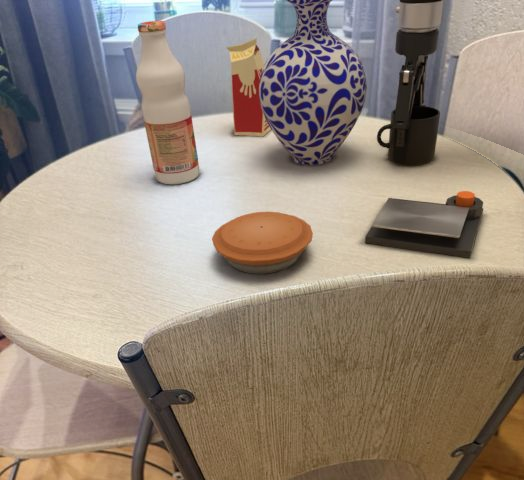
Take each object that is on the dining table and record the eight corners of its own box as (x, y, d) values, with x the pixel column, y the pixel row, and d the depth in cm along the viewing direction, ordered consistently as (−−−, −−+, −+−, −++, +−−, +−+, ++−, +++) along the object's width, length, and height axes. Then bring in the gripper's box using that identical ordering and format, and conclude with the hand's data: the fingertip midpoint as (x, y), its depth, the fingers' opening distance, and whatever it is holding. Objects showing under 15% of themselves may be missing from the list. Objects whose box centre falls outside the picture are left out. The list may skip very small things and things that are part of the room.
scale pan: (468, 209, 85) (469, 207, 85) (459, 238, 78) (459, 236, 78) (388, 200, 90) (388, 198, 89) (372, 226, 83) (372, 225, 83)
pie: (204, 281, 80) (200, 251, 76) (226, 232, 91) (222, 204, 88) (307, 283, 77) (307, 253, 74) (316, 233, 89) (316, 204, 86)
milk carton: (274, 124, 135) (270, 33, 122) (265, 136, 128) (259, 42, 115) (240, 123, 137) (232, 34, 124) (229, 135, 130) (219, 43, 117)
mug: (372, 151, 115) (375, 107, 110) (429, 148, 114) (435, 104, 109) (377, 168, 108) (381, 121, 102) (438, 165, 107) (444, 118, 101)
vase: (255, 176, 109) (241, 4, 90) (272, 140, 125) (263, -13, 106) (361, 176, 105) (370, -4, 86) (364, 139, 121) (373, -20, 102)
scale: (482, 213, 90) (486, 197, 88) (469, 258, 79) (473, 240, 77) (388, 203, 96) (389, 187, 94) (364, 243, 85) (365, 225, 83)
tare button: (474, 201, 88) (476, 191, 87) (471, 209, 86) (473, 198, 85) (456, 200, 89) (458, 190, 88) (453, 207, 87) (455, 197, 86)
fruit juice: (146, 178, 113) (114, 25, 95) (181, 164, 117) (156, 16, 100) (174, 189, 107) (144, 29, 89) (209, 174, 112) (188, 19, 94)
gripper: (410, 16, 105) (399, 132, 120) (382, 41, 90) (373, 170, 105) (449, 16, 103) (433, 135, 117) (427, 41, 88) (411, 174, 102)
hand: (405, 151), depth 111 cm, fingers closed on mug, 9 cm apart
